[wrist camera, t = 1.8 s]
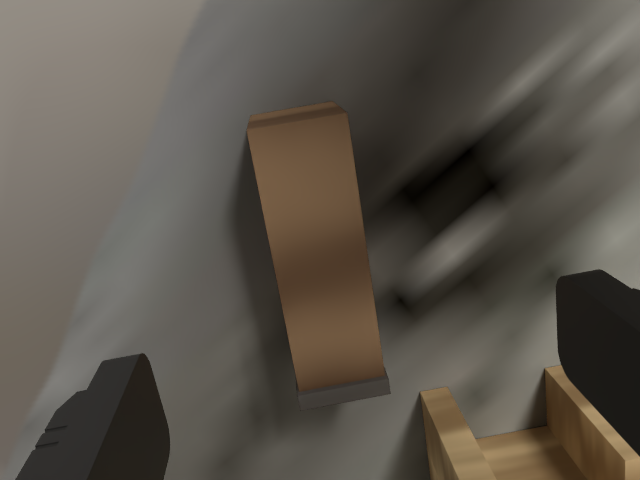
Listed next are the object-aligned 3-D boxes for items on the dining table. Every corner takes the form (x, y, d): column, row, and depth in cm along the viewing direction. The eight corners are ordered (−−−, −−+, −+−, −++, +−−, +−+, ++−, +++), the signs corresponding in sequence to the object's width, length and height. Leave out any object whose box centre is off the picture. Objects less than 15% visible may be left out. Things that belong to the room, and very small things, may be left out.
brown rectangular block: (248, 115, 28) (243, 131, 22) (334, 100, 28) (350, 113, 22) (294, 348, 32) (300, 410, 26) (369, 334, 32) (390, 393, 27)
